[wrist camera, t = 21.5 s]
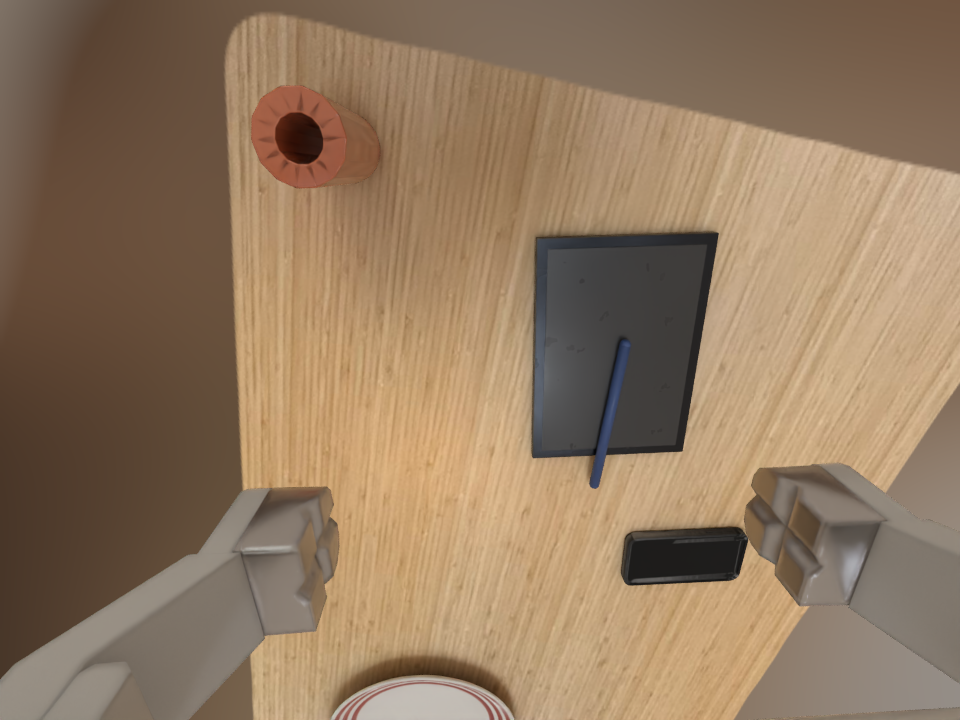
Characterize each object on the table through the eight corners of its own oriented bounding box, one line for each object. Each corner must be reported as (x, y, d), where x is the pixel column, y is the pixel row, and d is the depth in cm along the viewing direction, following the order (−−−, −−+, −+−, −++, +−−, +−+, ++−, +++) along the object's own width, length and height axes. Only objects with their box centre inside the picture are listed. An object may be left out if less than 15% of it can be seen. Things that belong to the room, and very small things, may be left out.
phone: (737, 580, 60) (623, 586, 59) (732, 573, 61) (620, 579, 60) (750, 532, 57) (629, 538, 56) (744, 526, 58) (626, 531, 57)
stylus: (630, 342, 45) (596, 491, 52) (633, 339, 46) (599, 486, 53) (619, 339, 46) (587, 488, 52) (622, 336, 47) (590, 483, 53)
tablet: (535, 237, 43) (537, 238, 42) (713, 231, 44) (719, 233, 43) (531, 453, 52) (532, 458, 51) (678, 446, 53) (683, 452, 52)
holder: (309, 112, 39) (240, 86, 27) (377, 111, 39) (340, 84, 27) (319, 183, 41) (260, 189, 29) (384, 182, 41) (352, 186, 29)
